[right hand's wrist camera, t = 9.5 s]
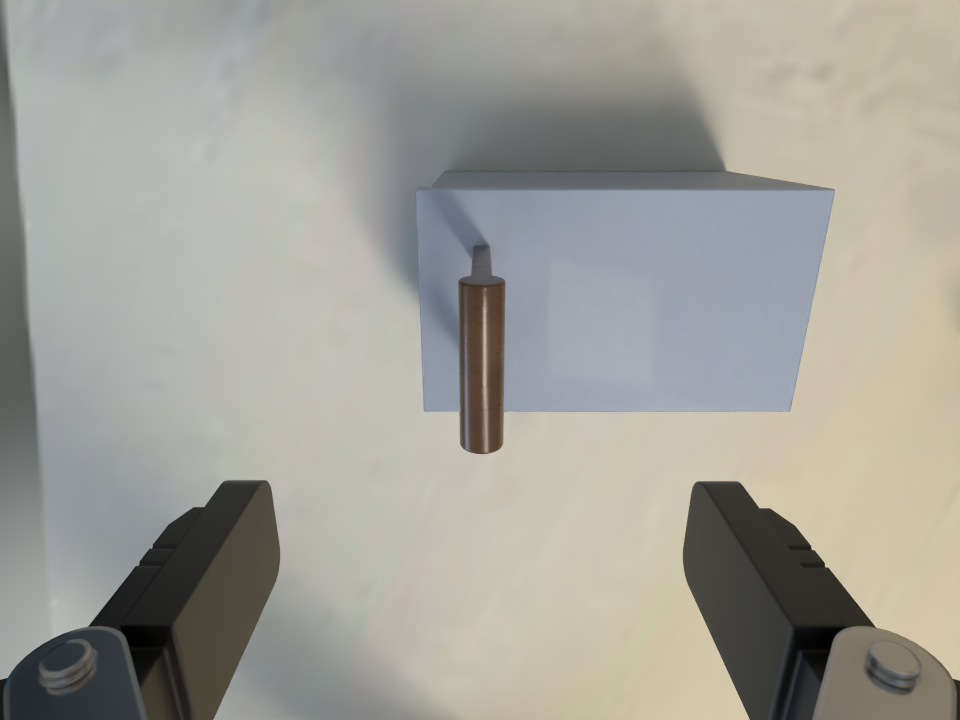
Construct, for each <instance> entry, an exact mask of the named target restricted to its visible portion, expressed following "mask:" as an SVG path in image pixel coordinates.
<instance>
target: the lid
mask: <svg viewBox="0 0 960 720" xmlns="http://www.w3.org/2000/svg"><path fill="white" fill-rule="evenodd" d="M834 194H835V190H834V189H830V188H824V187H419V188H417V189H416V210H417V237H418V264H419V291H420V318H421V345H422V372H423V399H424V411H425V412H460V444H461V446H462V448H463V449H465V450H466V451H468V452H471V453H476V454H487V453H492V452H495V451H497V450H499V449H500V448H501V447H502V445H503V422H504V412H790V409H791V404H792V399H793V394H794V389H795V384H796V380H797V375H798V370H799V365H800V360H801V355H802V350H803V345H804V340H805V336H806V331H807V326H808V321H809V316H810V311H811V306H812V301H813V296H814V291H815V287H816V282H817V277H818V272H819V267H820V262H821V257H822V252H823V247H824V242H825V238H826V233H827V228H828V223H829V218H830V213H831V208H832V203H833V198H834Z"/></svg>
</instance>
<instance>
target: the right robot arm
mask: <svg viewBox="0 0 960 720" xmlns="http://www.w3.org/2000/svg"><path fill="white" fill-rule="evenodd" d="M279 564H280V546H279V539H278V532H277V525H276V518H275V511H274V504H273V497H272V491H271V487H270V485H269V483H268V482H267V481H265V480H226V481H224V482H223V483H222V484H221V485H220V486H219V488H218V489H217V491H216V492H215V493H214V495H213V496H212V497H211V499H210V500H209V502H208V503H207V504H206V506H205V507H193V508H192V509H191V510H189V511H188V512H186V513H185V514H183V515H182V516H180V517H179V518H178V519H176V520H175V521H173V522H172V523H170V524H169V525H168V526H167V528H166V529H165V530H164V531H163V533H162V534H161V535H160V536H159V538H158V539H157V540H156V541H155V543H154V544H153V548H152V549H149V550H148V552H147V553H146V554H145V555H144V557H143V558H142V559H141V561H140V564H139V566H136V567H135V568H134V569H133V571H132V572H131V573H130V574H129V576H128V577H127V578H126V580H125V581H124V582H123V583H122V585H121V586H120V587H119V588H118V590H117V591H116V592H115V593H114V595H113V596H112V597H111V599H110V600H109V601H108V602H107V604H106V605H105V606H104V607H103V609H102V610H101V611H100V612H99V614H98V615H97V616H96V618H95V619H94V620H93V621H92V623H91V624H90V625H89V626H88V627H85V628H81V629H77V630H73V631H70V632H67V633H64V634H62V635H60V636H58V637H55V638H53V639H51V640H50V641H48V642H46V643H44V644H42V645H41V646H39V647H38V648H36V649H35V650H34V651H32V652H31V653H30V654H28V655H27V656H26V657H25V658H24V659H23V660H22V661H21V662H20V663H19V664H18V665H17V666H16V667H15V668H14V670H13V671H12V672H11V674H10V675H9V677H8V678H6V679H2V680H0V720H213V719H214V717H215V715H216V713H217V710H218V708H219V706H220V704H221V701H222V699H223V697H224V695H225V693H226V690H227V688H228V686H229V684H230V682H231V679H232V677H233V675H234V673H235V671H236V668H237V666H238V664H239V662H240V660H241V657H242V655H243V653H244V651H245V648H246V646H247V644H248V642H249V640H250V637H251V635H252V633H253V631H254V629H255V626H256V624H257V622H258V620H259V618H260V615H261V613H262V611H263V609H264V606H265V604H266V602H267V600H268V598H269V595H270V593H271V591H272V589H273V587H274V584H275V582H276V579H277V575H278V571H279ZM683 565H684V572H685V576H686V580H687V583H688V585H689V588H690V590H691V592H692V594H693V596H694V599H695V601H696V603H697V605H698V607H699V609H700V612H701V614H702V616H703V618H704V620H705V623H706V625H707V627H708V629H709V631H710V633H711V636H712V638H713V640H714V642H715V644H716V647H717V649H718V651H719V653H720V655H721V657H722V660H723V662H724V664H725V666H726V668H727V671H728V673H729V675H730V677H731V679H732V681H733V684H734V686H735V688H736V690H737V692H738V695H739V697H740V699H741V701H742V703H743V705H744V708H745V710H746V712H747V714H748V716H749V719H750V720H960V681H958V680H955V679H952V677H951V675H950V674H949V672H948V671H947V670H946V668H945V667H944V666H943V665H942V664H941V663H940V662H939V661H938V660H937V659H936V658H935V657H934V656H933V655H932V654H930V653H929V652H928V651H926V650H925V649H924V648H922V647H921V646H919V645H918V644H916V643H914V642H912V641H910V640H909V639H907V638H905V637H902V636H900V635H898V634H896V633H893V632H890V631H887V630H883V629H879V628H876V627H875V626H874V624H873V623H872V622H871V621H870V619H869V618H868V617H867V616H866V614H865V613H864V612H863V611H862V609H861V608H860V607H859V606H858V604H857V603H856V602H855V601H854V599H853V598H852V597H851V596H850V594H849V593H848V592H847V591H846V589H845V588H844V587H843V586H842V584H841V583H840V582H839V580H838V579H837V578H836V577H835V575H834V574H833V573H832V572H831V570H830V569H829V568H825V563H824V562H823V560H822V559H821V558H820V557H819V555H818V554H817V553H816V552H815V550H812V549H811V545H810V544H809V543H808V542H807V540H806V539H805V538H804V537H803V535H802V534H801V533H800V532H799V530H798V529H797V528H796V526H794V525H793V524H792V523H790V522H789V521H787V520H786V519H784V518H783V517H781V516H780V515H779V514H777V513H776V512H774V511H773V510H771V509H770V508H759V507H758V506H757V504H756V503H755V502H754V500H753V499H752V498H751V496H750V495H749V494H748V492H747V491H746V490H745V488H744V487H743V486H742V484H741V483H739V482H737V481H699V482H696V483H695V484H694V486H693V489H692V493H691V500H690V506H689V513H688V520H687V527H686V534H685V540H684V547H683Z"/></svg>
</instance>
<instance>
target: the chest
mask: <svg viewBox="0 0 960 720" xmlns="http://www.w3.org/2000/svg"><path fill="white" fill-rule="evenodd" d="M431 187H818V186H812V185H806V184H800V183H794V182H788V181H782V180H776V179H770V178H764V177H758V176H752V175H746V174H740V173H734V172H729V171H444V173H443V174H442V175H441V176H440V177H439V179H438V180H437V181H436V182H435V183H434V184H433V185H432V186H431Z"/></svg>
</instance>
